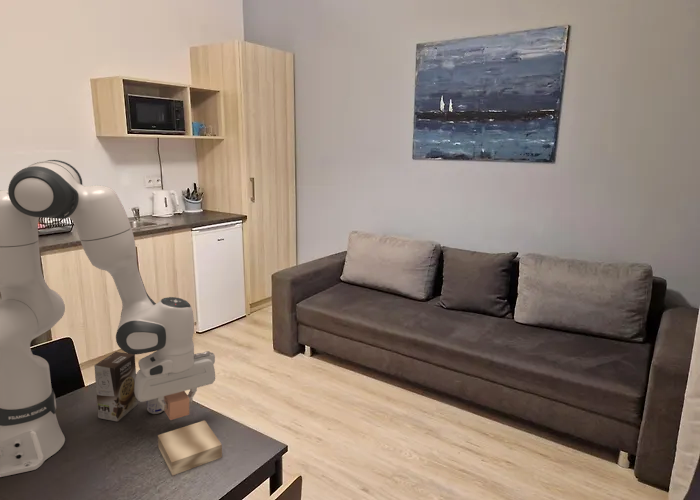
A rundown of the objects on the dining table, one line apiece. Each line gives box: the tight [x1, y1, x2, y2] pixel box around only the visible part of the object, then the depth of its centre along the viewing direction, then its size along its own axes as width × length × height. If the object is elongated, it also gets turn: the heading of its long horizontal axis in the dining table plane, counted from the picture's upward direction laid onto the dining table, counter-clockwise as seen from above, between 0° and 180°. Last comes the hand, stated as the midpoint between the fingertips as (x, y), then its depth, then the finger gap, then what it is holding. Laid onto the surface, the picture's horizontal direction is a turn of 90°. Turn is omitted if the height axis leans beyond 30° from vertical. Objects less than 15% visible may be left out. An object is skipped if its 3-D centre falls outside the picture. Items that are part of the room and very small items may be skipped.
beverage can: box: [146, 398, 164, 415], centre depth 134 cm, size 5×5×15 cm
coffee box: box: [94, 351, 139, 422], centre depth 132 cm, size 9×6×16 cm
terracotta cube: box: [163, 391, 190, 421], centre depth 126 cm, size 5×5×5 cm
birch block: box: [157, 419, 223, 476], centre depth 118 cm, size 12×12×4 cm
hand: (176, 405), depth 126 cm, fingers closed on terracotta cube, 5 cm apart
